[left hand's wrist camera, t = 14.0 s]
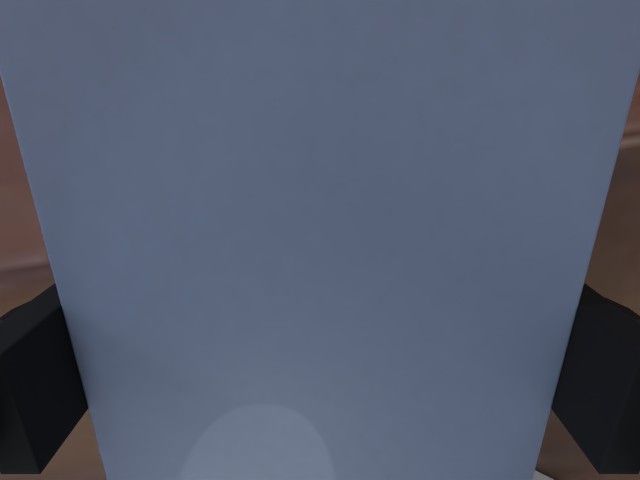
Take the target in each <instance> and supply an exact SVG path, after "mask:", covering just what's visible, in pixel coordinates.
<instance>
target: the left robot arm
mask: <svg viewBox="0 0 640 480" xmlns="http://www.w3.org/2000/svg"><path fill="white" fill-rule="evenodd" d="M551 408H552V410H553V411H554V413H555V414H556V415H557V417H558V418H559V419H560V421H561V422H562V423H563V425H564V426H565V428H566V429H567V430H568V432H569V433H570V434H571V436H572V437H573V439H574V440H575V441H576V443H577V444H578V445H579V447H580V448H581V450H582V451H583V452H584V454H585V455H586V456H587V458H588V459H589V461H590V462H591V463H592V465H593V466H594V467H595V469H596V470H597V472H598V473H599V474H639V471H640V316H639V315H637V314H636V313H635V312H633V311H632V310H630V309H629V308H627V307H625V306H623V305H620V304H618V303H616V302H614V301H612V300H609V299H607V298H604V297H603V296H601V295H600V294H598V293H597V292H596V291H594V290H593V289H592V288H590V287H589V286H587V285H586V284H585V283H584V285H583V289H582V293H581V296H580V300H579V304H578V308H577V312H576V315H575V319H574V323H573V327H572V331H571V334H570V338H569V342H568V346H567V350H566V353H565V357H564V361H563V365H562V369H561V373H560V376H559V380H558V384H557V388H556V392H555V395H554V399H553V403H552V407H551ZM87 409H88V405H87V401H86V397H85V393H84V389H83V386H82V382H81V378H80V374H79V371H78V367H77V363H76V359H75V355H74V352H73V348H72V344H71V340H70V336H69V333H68V329H67V325H66V321H65V317H64V314H63V310H62V306H61V302H60V298H59V295H58V291H57V287H56V283H55V284H53V285H52V286H51V287H49V288H48V289H47V290H45V291H44V292H42V293H41V294H40V295H38V296H37V297H36V298H34V299H33V300H31V301H29V302H27V303H25V304H23V305H21V306H18V307H16V308H14V309H12V310H10V311H9V312H8V313H6V314H5V315H3V316H2V317H1V318H0V473H1V474H41V472H42V471H43V470H44V468H45V467H46V465H47V464H48V463H49V461H50V460H51V459H52V457H53V456H54V454H55V453H56V452H57V450H58V449H59V448H60V446H61V445H62V443H63V442H64V441H65V439H66V438H67V437H68V435H69V434H70V433H71V431H72V430H73V428H74V427H75V426H76V424H77V423H78V422H79V420H80V419H81V417H82V416H83V415H84V413H85V412H86V411H87Z"/></svg>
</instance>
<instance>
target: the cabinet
mask: <svg viewBox="0 0 640 480" xmlns="http://www.w3.org/2000/svg"><path fill="white" fill-rule="evenodd" d="M639 72H640V0H0V75H1V79H2V82H3V86H4V90H5V94H6V98H7V101H8V105H9V109H10V113H11V116H12V120H13V124H14V128H15V132H16V135H17V139H18V143H19V147H20V151H21V154H22V158H23V162H24V166H25V170H26V173H27V177H28V181H29V185H30V189H31V192H32V196H33V200H34V204H35V207H36V211H37V215H38V219H39V223H40V226H41V230H42V234H43V238H44V242H45V245H46V249H47V253H48V257H49V261H50V264H51V268H52V272H53V276H54V280H55V283H56V287H57V291H58V295H59V298H60V302H61V306H62V310H63V314H64V317H65V321H66V325H67V329H68V333H69V336H70V340H71V344H72V348H73V352H74V355H75V359H76V363H77V367H78V371H79V374H80V378H81V382H82V386H83V389H84V393H85V397H86V401H87V405H88V408H89V412H90V416H91V420H92V424H93V427H94V431H95V435H96V439H97V443H98V446H99V450H100V454H101V458H102V462H103V465H104V469H105V473H106V477H107V480H532V479H533V475H534V472H535V468H536V464H537V460H538V456H539V453H540V449H541V445H542V441H543V437H544V433H545V430H546V426H547V422H548V418H549V414H550V411H551V407H552V403H553V399H554V395H555V392H556V388H557V384H558V380H559V376H560V373H561V369H562V365H563V361H564V357H565V353H566V350H567V346H568V342H569V338H570V334H571V331H572V327H573V323H574V319H575V315H576V312H577V308H578V304H579V300H580V296H581V293H582V289H583V285H584V281H585V277H586V273H587V270H588V266H589V262H590V258H591V254H592V251H593V247H594V243H595V239H596V235H597V232H598V228H599V224H600V220H601V216H602V213H603V209H604V205H605V201H606V197H607V193H608V190H609V186H610V182H611V178H612V174H613V171H614V167H615V163H616V159H617V155H618V152H619V148H620V144H621V140H622V136H623V133H624V129H625V125H626V121H627V117H628V113H629V110H630V106H631V102H632V98H633V94H634V91H635V87H636V83H637V79H638V75H639Z"/></svg>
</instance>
